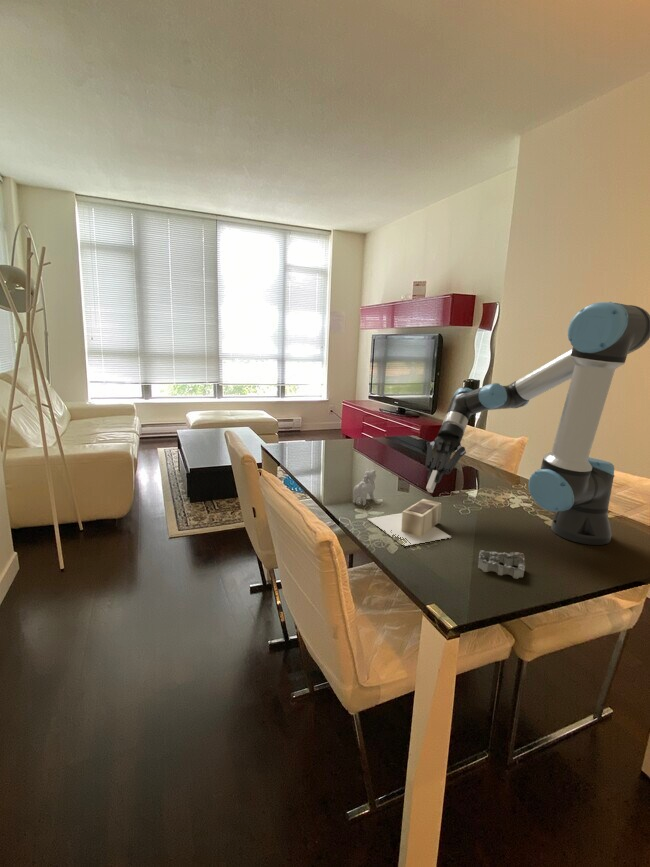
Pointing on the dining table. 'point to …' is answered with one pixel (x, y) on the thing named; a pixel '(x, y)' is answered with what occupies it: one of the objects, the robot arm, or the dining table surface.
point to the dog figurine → (365, 486)
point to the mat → (395, 525)
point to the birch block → (421, 517)
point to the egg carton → (506, 559)
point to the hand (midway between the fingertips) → (429, 490)
